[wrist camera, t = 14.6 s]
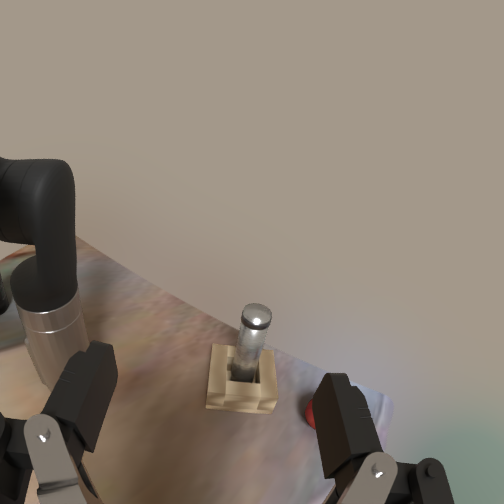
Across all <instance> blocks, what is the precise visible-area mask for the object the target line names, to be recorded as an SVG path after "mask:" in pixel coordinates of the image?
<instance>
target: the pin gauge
mask: <svg viewBox="0 0 504 504" xmlns="http://www.w3.org/2000/svg"><path fill="white" fill-rule="evenodd" d="M271 315H272V313H271V311H270V309H269V308H267V307H266V306H264V305H261V304H256V303H253V304H248V305H246V306H245V307H244V310H243V312H242V317H241V326H240V330H239V335H238V340H237V345H236V350H235V355H234V360H233V365H232V369H231V374H230V379H229V381H236V382H246V383H252V382H253V379H254V376H255V372H256V369H257V365H258V362H259V358H260V355H261V351H262V348H263V344H264V341H265V337H266V333H267V330H268V327H269V325H270V322H271V317H272V316H271Z"/></svg>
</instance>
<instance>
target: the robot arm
mask: <svg viewBox="0 0 504 504" xmlns="http://www.w3.org/2000/svg"><path fill="white" fill-rule="evenodd" d="M0 240H1V241H4V242H9V243H18V244H28V245H35V249H36V255H35V256H32V257H30V258H28V259H26V260H25V261H23V262H22V263H20V264H19V265H18V266H17V267H16V268H15V270H14V271H13V273H12V275H11V279H10V285H11V290H12V294H13V297H14V300H15V303H16V307H17V310H18V313H19V316H20V319H21V322H22V325H23V328H24V330H25V333H26V336H27V337H26V338H25V345H26V347H27V350H28V352H29V354H30V357H31V359H32V361H33V364H34V366H35V368H36V370H37V372H38V375H39V377H40V379H41V381H42V383H43V384H46V385H47V386H48V387H49V389H50V391H51V392H52V393H51V395H50V397H49V399H48V401H47V403H46V405H45V407H44V409H43V411H42V412H41V413H40V414H37V415H34V416H32V417H30V418H29V419H28V420H19V419H11V418H5V417H4V416H3V415H2V414H1V412H0V504H24V502H25V497H26V493H27V489H28V485H29V481H30V477H31V473H32V470H34V471H35V475H36V478H37V480H38V484H39V488H38V489H37V496H38V499H39V502H40V504H104V503H103V502H102V500H101V498H100V497H99V495H98V493H97V491H96V489H95V487H94V485H93V483H92V481H91V478H90V476H89V474H88V472H87V470H86V468H85V465H84V463H83V461H82V456H83V453H84V450H85V451H88V452H91V453H93V452H94V449H95V446H96V443H97V439H98V436H99V433H100V430H101V427H102V424H103V421H104V418H105V415H106V412H107V409H108V406H109V403H110V401H111V398H112V395H113V392H114V389H115V387H116V383H117V378H118V370H117V365H116V360H115V355H114V350H113V346H112V345H111V344H106V343H102V342H98V341H94V340H93V341H92V342H91V343H90V344H89V340H88V336H87V331H86V327H85V322H84V317H83V312H82V307H81V302H80V296H79V290H78V283H77V275H76V266H77V256H76V241H75V184H74V177H73V173H72V171H71V168H70V167H69V165H68V164H67V163H66V162H65V161H63V160H58V159H27V160H9V159H4V158H1V157H0ZM312 412H313V417H314V423H315V428H316V433H317V439H318V444H319V450H320V455H321V461H322V466H323V472H324V478H325V479H330V478H335V485H334V486H333V488H332V489H331V491H330V492H329V494H328V496H327V497H326V499H325V500H324V502H323V503H322V504H454V500H453V497H452V493H451V490H450V486H449V483H448V480H447V476H446V473H445V470H444V467H443V465H442V464H441V463H440V462H439V461H438V460H436V459H434V458H426V459H423V460H422V461H421V462H419V463H418V464H409V463H400V462H396V461H395V460H394V459H393V458H392V457H391V456H390V455H388V454H386V453H384V452H383V450H382V447H381V444H380V441H379V438H378V435H377V432H376V429H375V426H374V423H373V420H372V418H371V414H370V411H369V409H368V405H367V402H366V399H365V396H364V395H363V393H362V392H361V391H360V390H359V389H358V387H357V386H351V385H350V382H349V379H348V376H347V374H345V373H326V374H325V375H324V377H323V379H322V381H321V383H320V385H319V387H318V389H317V390H316V392H315V394H314V396H313V400H312Z"/></svg>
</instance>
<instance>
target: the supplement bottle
mask: <svg viewBox="0 0 504 504" xmlns="http://www.w3.org/2000/svg"><path fill="white" fill-rule="evenodd" d="M7 307H8V300H7V296H6V293H5V289H4V286H3V282H2V278H1V274H0V315H1V314H3V313H4V312H5V311H6V309H7Z"/></svg>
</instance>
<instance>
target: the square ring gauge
mask: <svg viewBox="0 0 504 504" xmlns="http://www.w3.org/2000/svg"><path fill="white" fill-rule="evenodd" d="M235 350H236V346H228V345H220V344H213V345H212V353H211V361H210V370H209V380H208V389H207V399H206V408H208V409H216V410H225V411H235V412H247V413H262V414H272V412H273V409H274V407H275V405H276V402H277V400H278V390H277V381H276V371H275V362H274V353H273V350H264V349H262V351H261V355H260V358H259V362H258V365H257V369H256V372H255V376H254V379H253V382H252V383H246V382H236V381H229V379H230V374H231V369H232V365H233V360H234V355H235Z"/></svg>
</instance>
